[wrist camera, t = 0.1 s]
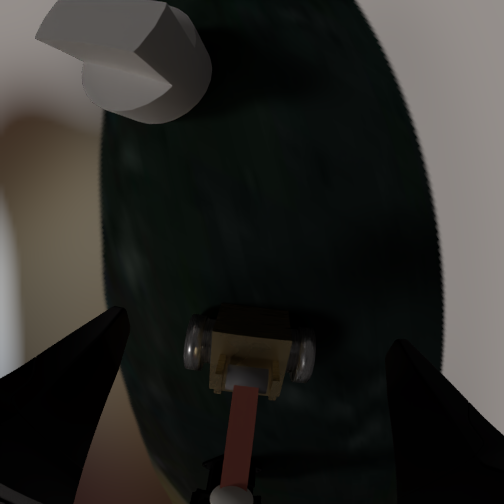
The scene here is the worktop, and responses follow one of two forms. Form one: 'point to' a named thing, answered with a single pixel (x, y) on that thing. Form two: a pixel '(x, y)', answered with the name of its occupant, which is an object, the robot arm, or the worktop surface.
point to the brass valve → (250, 345)
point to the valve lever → (240, 434)
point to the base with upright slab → (132, 55)
